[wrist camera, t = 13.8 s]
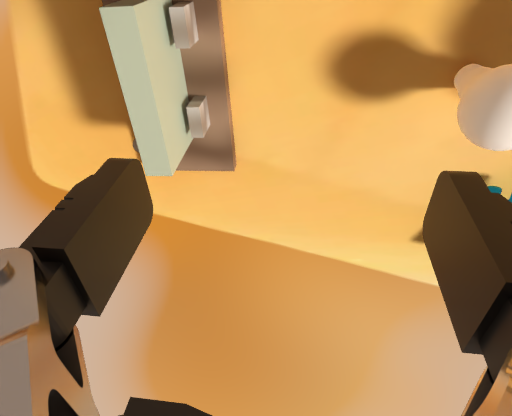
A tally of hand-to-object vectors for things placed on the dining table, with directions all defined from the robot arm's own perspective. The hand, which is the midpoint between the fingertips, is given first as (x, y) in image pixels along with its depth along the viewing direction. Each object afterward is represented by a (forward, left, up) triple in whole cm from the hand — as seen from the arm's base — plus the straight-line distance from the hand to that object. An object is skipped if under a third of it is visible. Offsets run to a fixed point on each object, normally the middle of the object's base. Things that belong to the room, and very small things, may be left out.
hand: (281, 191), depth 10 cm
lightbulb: (+5, +15, -27) cm, 31 cm away
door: (+4, -12, -25) cm, 28 cm away
